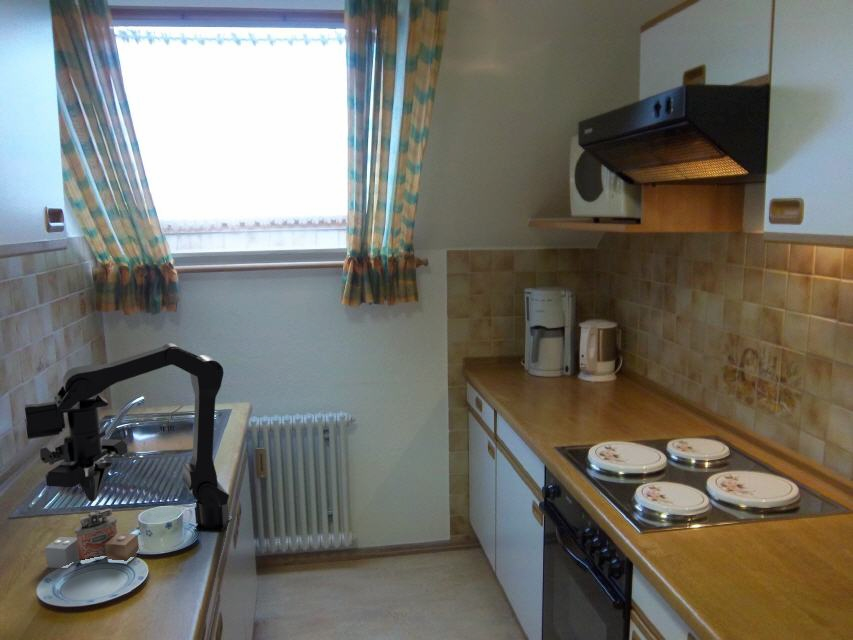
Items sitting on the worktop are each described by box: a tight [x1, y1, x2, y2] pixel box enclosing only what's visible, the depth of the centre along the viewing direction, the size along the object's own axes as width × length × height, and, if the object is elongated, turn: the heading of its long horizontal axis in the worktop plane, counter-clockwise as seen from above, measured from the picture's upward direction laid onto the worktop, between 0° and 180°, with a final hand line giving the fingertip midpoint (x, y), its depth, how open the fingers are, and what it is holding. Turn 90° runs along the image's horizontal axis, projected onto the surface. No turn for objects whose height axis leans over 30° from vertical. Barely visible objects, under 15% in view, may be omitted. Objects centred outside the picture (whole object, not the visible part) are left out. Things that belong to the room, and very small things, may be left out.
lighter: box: [74, 508, 118, 562], centre depth 143 cm, size 8×3×10 cm, turn 129°
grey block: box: [44, 536, 79, 569], centre depth 142 cm, size 4×4×5 cm
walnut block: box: [105, 532, 140, 561], centre depth 143 cm, size 4×4×5 cm
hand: (92, 500), depth 142 cm, fingers closed
